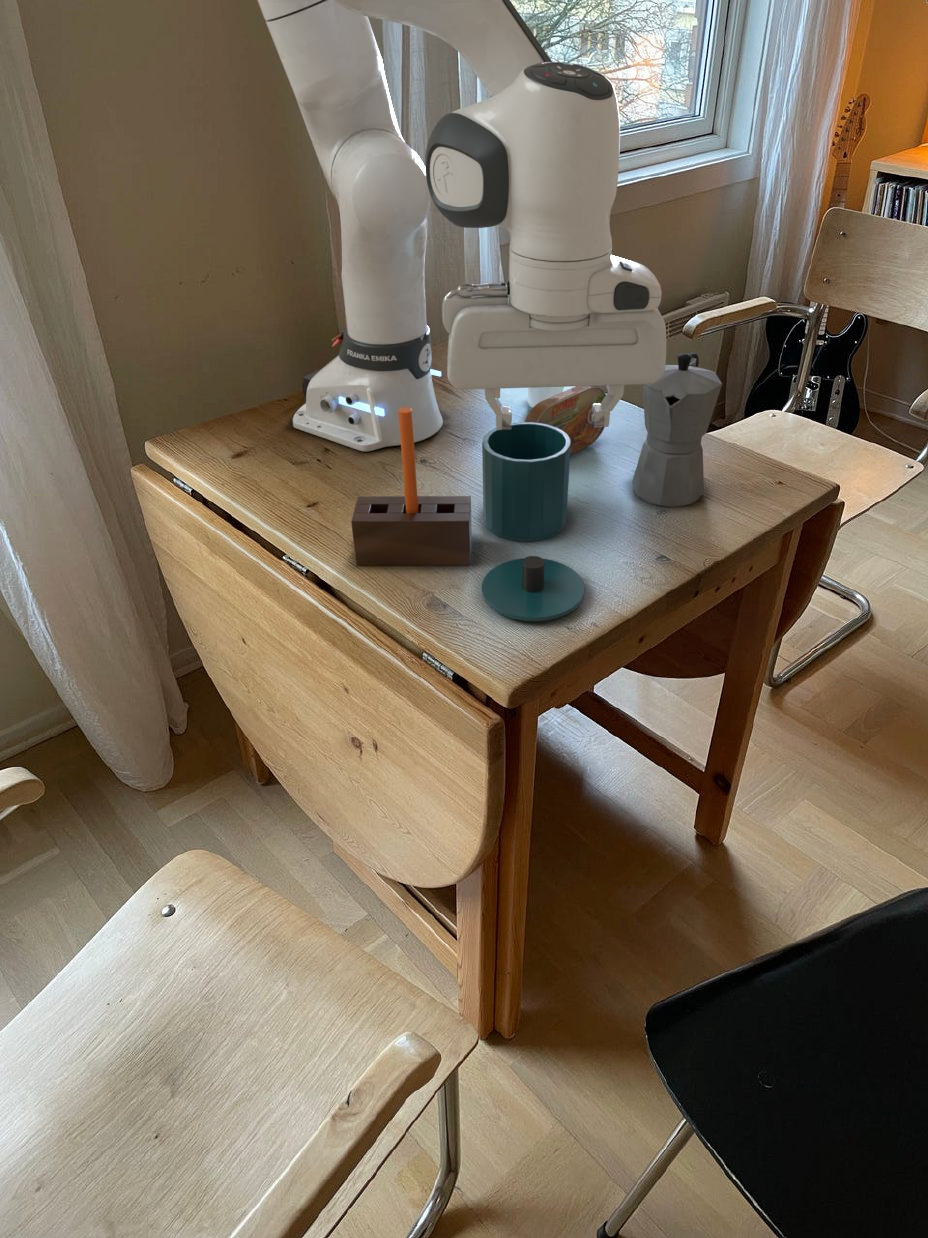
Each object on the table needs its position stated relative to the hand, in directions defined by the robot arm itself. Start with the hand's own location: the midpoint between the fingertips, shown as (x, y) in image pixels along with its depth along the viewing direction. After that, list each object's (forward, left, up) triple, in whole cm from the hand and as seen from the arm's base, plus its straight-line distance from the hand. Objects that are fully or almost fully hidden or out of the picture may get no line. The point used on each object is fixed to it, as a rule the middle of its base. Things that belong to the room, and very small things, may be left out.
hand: (551, 426), depth 87 cm
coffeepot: (+6, +27, -20) cm, 34 cm away
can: (-8, +12, -19) cm, 24 cm away
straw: (-17, 0, -19) cm, 25 cm away
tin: (-10, +31, -20) cm, 38 cm away
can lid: (-1, -2, -19) cm, 19 cm away
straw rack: (-17, 0, -19) cm, 25 cm away
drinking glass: (-18, +44, -20) cm, 51 cm away
